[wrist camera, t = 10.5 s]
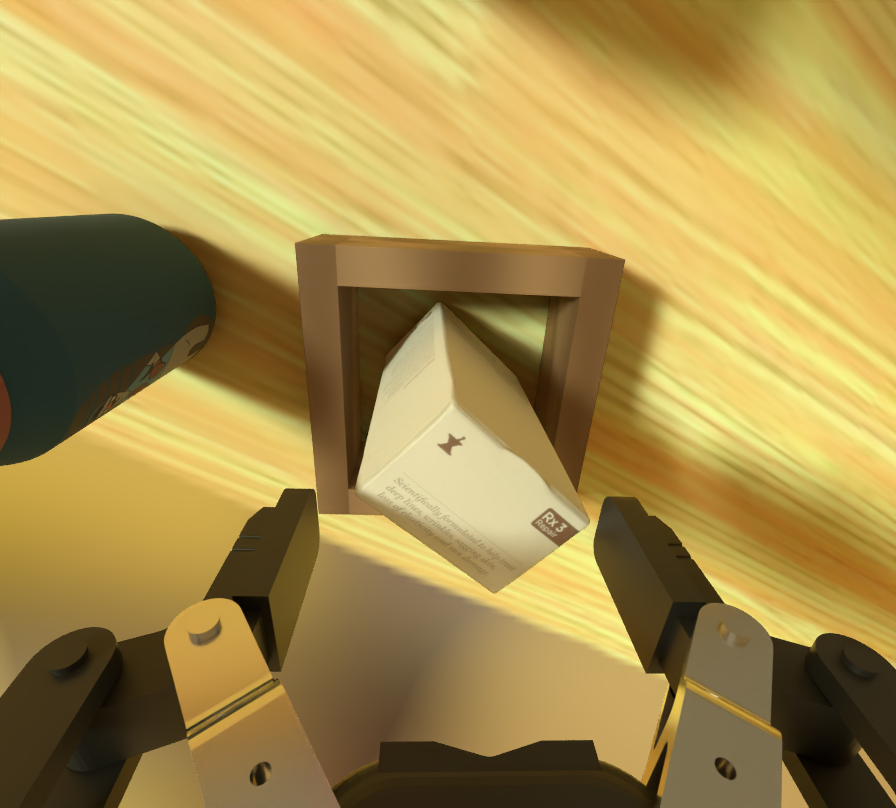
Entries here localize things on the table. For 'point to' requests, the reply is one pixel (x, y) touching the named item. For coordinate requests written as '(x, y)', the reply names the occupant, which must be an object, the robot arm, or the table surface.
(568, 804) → the robot arm
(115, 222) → the soda can
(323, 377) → the brown wooden square frame
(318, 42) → the table surface
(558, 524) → the skincare box
